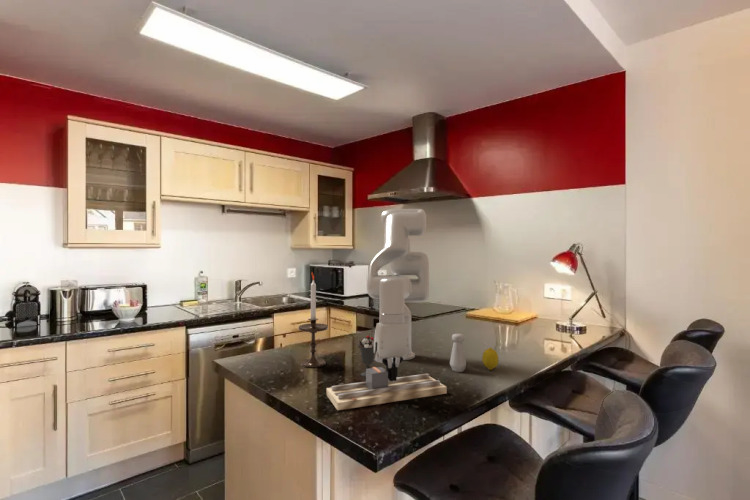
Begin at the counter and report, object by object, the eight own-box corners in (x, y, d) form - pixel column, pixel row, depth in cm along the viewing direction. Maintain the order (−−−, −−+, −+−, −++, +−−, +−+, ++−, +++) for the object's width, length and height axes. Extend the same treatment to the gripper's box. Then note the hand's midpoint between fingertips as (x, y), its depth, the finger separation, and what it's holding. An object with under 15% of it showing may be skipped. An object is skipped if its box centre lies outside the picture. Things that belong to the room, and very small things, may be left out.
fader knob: (371, 391, 111) (371, 372, 111) (365, 385, 115) (365, 367, 115) (387, 389, 113) (387, 370, 113) (381, 383, 117) (381, 366, 117)
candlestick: (293, 363, 146) (293, 271, 146) (317, 358, 153) (317, 270, 153) (308, 370, 138) (308, 272, 138) (333, 364, 145) (333, 271, 145)
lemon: (499, 372, 135) (499, 350, 135) (482, 371, 136) (483, 349, 137) (497, 368, 141) (497, 346, 141) (481, 367, 142) (481, 345, 142)
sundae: (380, 372, 135) (380, 330, 135) (373, 378, 129) (373, 334, 129) (362, 370, 137) (362, 328, 137) (355, 376, 131) (355, 332, 131)
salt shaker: (448, 367, 141) (448, 332, 141) (463, 367, 142) (463, 332, 142) (452, 373, 135) (452, 336, 135) (468, 372, 136) (468, 335, 136)
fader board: (337, 410, 103) (337, 398, 103) (326, 394, 114) (326, 384, 115) (446, 393, 116) (446, 382, 116) (427, 380, 127) (427, 371, 127)
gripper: (408, 315, 122) (408, 373, 122) (364, 318, 116) (364, 379, 116) (419, 319, 115) (419, 380, 115) (373, 322, 109) (373, 387, 109)
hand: (391, 379), depth 116 cm, fingers closed
